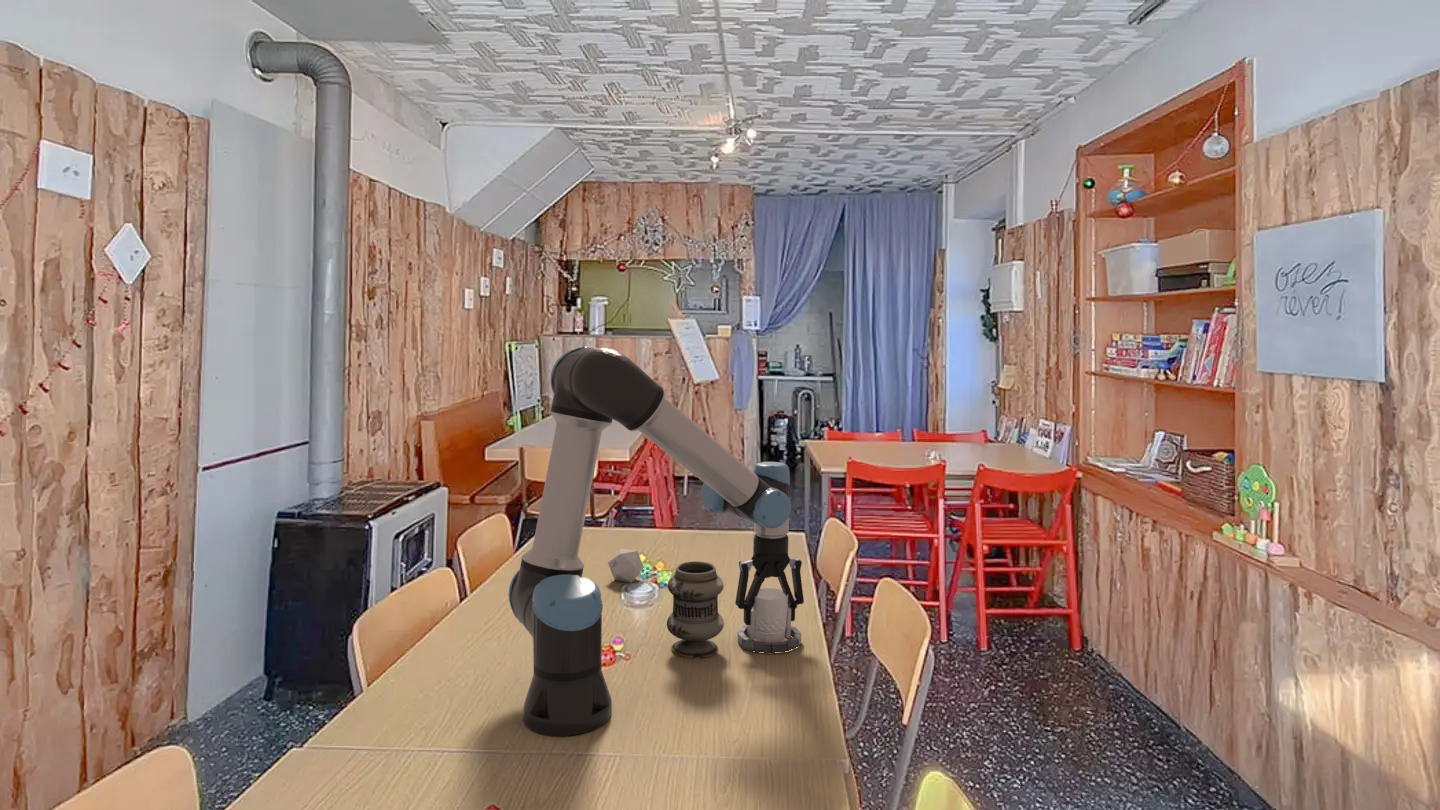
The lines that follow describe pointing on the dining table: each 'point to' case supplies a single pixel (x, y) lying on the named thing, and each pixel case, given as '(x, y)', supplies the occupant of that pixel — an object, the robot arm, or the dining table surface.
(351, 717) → the dining table surface
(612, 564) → the die
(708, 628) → the apothecary jar
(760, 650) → the collar ring
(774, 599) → the white cup
